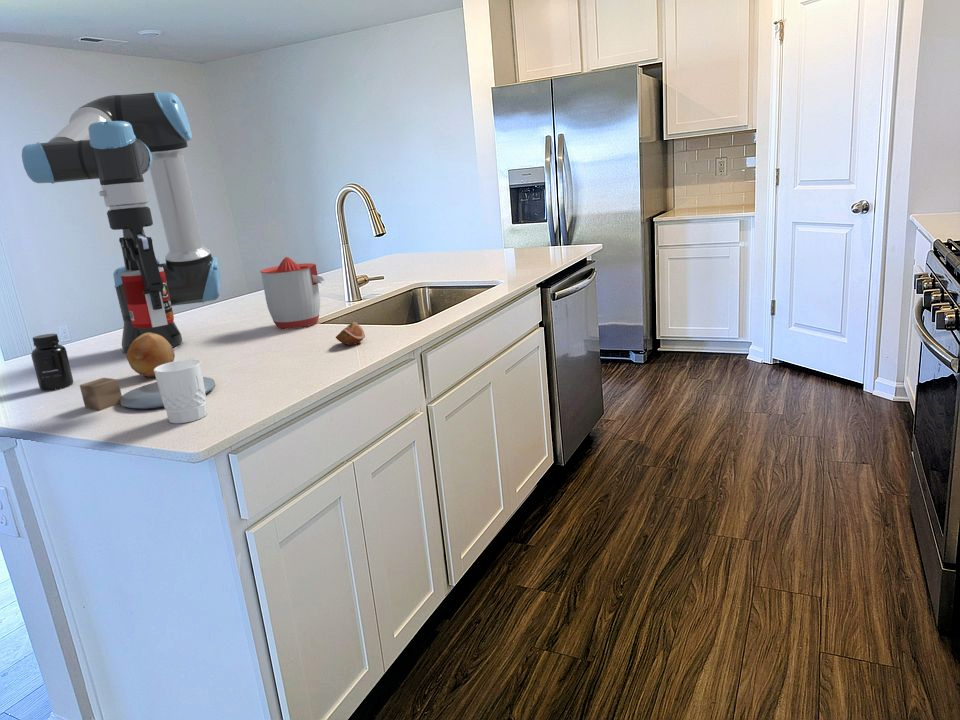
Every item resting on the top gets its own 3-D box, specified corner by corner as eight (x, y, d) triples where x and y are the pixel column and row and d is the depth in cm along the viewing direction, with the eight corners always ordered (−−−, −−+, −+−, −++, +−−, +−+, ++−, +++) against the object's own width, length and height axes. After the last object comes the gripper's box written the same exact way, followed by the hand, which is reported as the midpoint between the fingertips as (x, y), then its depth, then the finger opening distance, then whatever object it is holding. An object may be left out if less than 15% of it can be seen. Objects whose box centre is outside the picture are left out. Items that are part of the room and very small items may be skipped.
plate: (111, 399, 143) (110, 393, 143) (199, 377, 154) (197, 371, 154) (135, 417, 130) (133, 411, 129) (228, 392, 141) (227, 386, 140)
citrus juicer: (323, 328, 193) (312, 257, 188) (262, 333, 194) (250, 262, 189) (335, 316, 208) (325, 250, 203) (279, 321, 209) (267, 255, 204)
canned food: (159, 328, 133) (146, 271, 130) (123, 329, 135) (110, 274, 132) (183, 319, 141) (172, 265, 138) (149, 321, 142) (137, 267, 139)
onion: (132, 374, 162) (123, 333, 159) (178, 366, 166) (169, 326, 163) (130, 384, 153) (120, 341, 151) (178, 376, 157) (169, 333, 154)
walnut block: (85, 408, 139) (79, 385, 138) (108, 400, 143) (103, 377, 142) (100, 411, 136) (94, 387, 135) (123, 402, 141) (117, 379, 139)
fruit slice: (357, 348, 167) (354, 328, 166) (331, 349, 169) (328, 329, 168) (369, 339, 175) (366, 320, 174) (344, 340, 177) (342, 321, 175)
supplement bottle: (49, 392, 153) (35, 340, 150) (34, 390, 157) (20, 338, 153) (80, 383, 158) (67, 332, 155) (64, 380, 162) (51, 331, 159)
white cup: (174, 412, 131) (162, 362, 128) (216, 407, 131) (206, 357, 128) (159, 427, 123) (146, 373, 120) (203, 422, 124) (192, 368, 121)
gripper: (94, 210, 137) (120, 321, 143) (120, 208, 122) (148, 333, 128) (134, 206, 142) (157, 314, 148) (164, 203, 126) (189, 325, 132)
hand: (153, 323), depth 138 cm, fingers closed on canned food, 8 cm apart
